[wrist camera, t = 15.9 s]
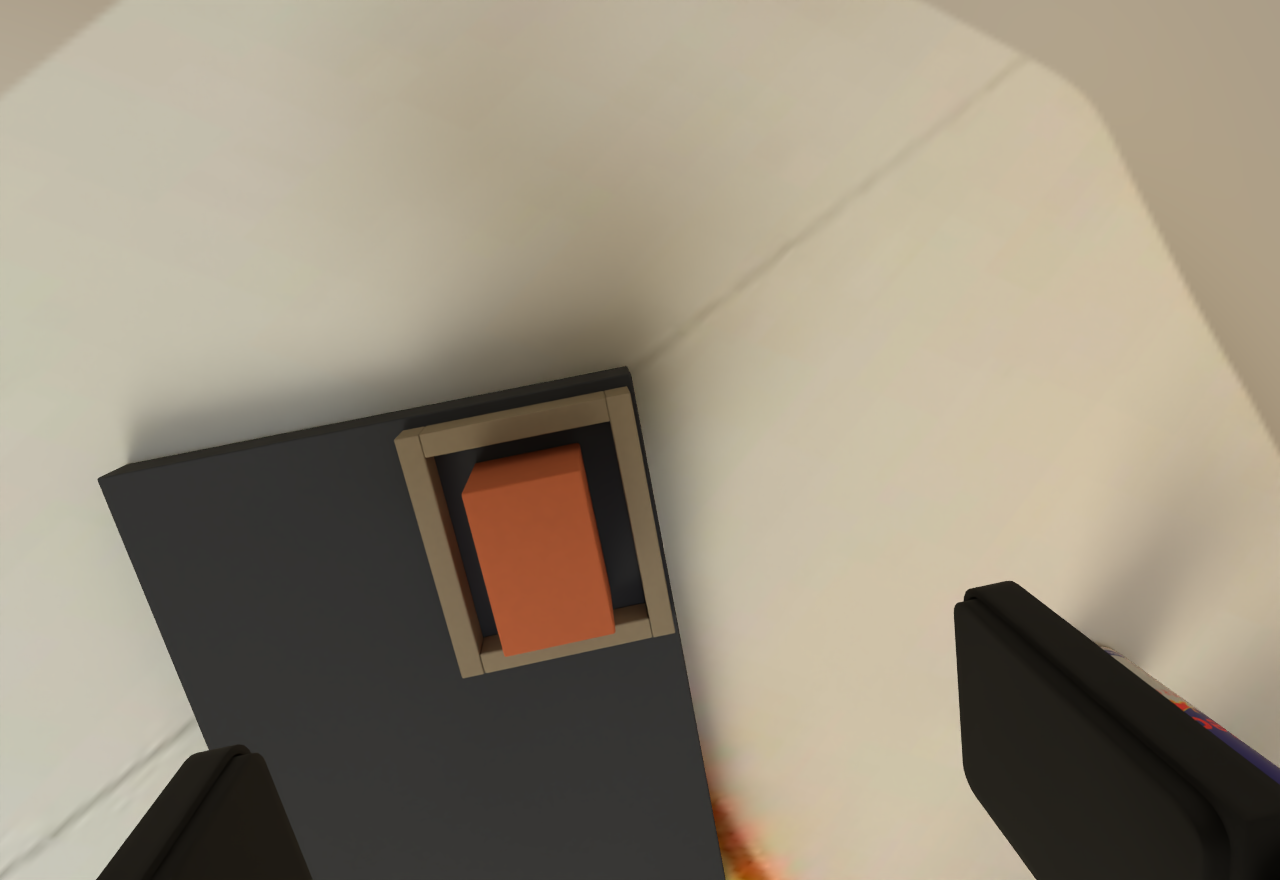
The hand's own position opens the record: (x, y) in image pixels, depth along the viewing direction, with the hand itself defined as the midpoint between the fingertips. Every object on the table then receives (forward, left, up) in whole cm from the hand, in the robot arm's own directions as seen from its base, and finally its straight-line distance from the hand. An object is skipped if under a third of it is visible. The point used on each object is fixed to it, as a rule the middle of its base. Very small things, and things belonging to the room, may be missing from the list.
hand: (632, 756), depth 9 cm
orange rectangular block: (+5, -3, -21) cm, 22 cm away
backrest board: (+14, -9, -23) cm, 28 cm away
